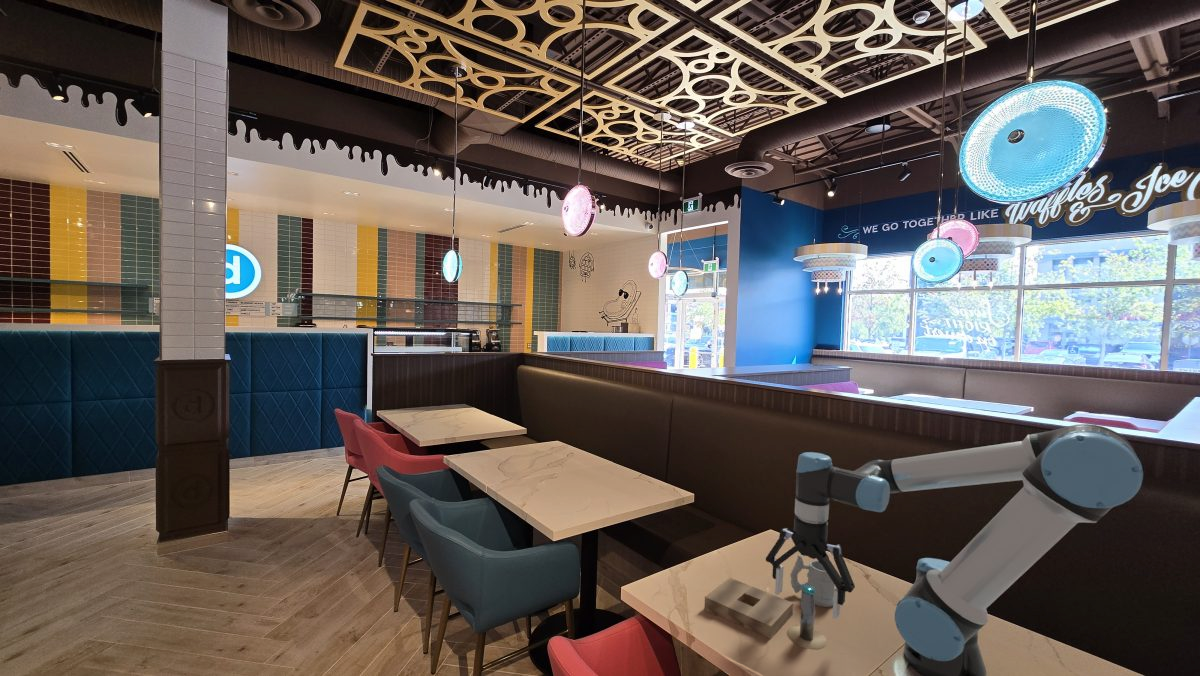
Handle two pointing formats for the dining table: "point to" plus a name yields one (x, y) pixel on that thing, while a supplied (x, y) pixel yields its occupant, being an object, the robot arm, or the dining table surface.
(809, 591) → the peg
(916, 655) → the robot arm
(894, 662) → the dining table surface
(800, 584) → the mug
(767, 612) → the hole board
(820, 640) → the coaster
